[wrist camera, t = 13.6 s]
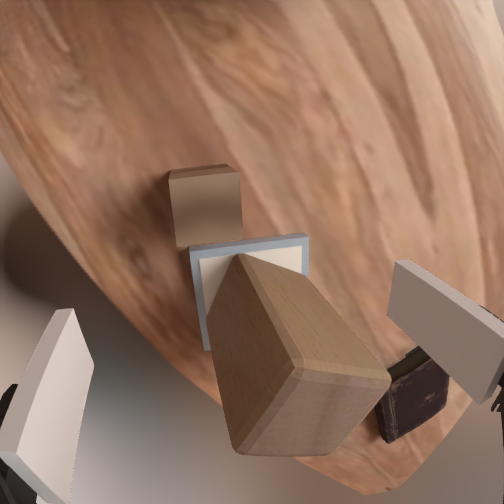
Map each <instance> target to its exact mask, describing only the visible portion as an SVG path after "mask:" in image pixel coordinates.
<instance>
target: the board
mask: <svg viewBox="0 0 504 504" xmlns="http://www.w3.org/2000/svg"><path fill="white" fill-rule="evenodd" d="M237 253H244V254H247V255H250V256H253V257H256V258H258V259H261V260H264V261H267V262H270V263H272V264H275V265H278V266H281V267H284V268H287V269H289V270H292V271H295V272H298V273H301V274H303V275H305V276H306V277H307V278H308V264H309V236H308V235H306V234H305V233H299V234H290V235H282V236H274V237H265V238H257V239H249V240H241V241H233V242H225V243H217V244H209V245H201V246H193V247H189V254H190V261H191V269H192V276H193V283H194V290H195V297H196V303H197V310H198V316H199V323H200V329H201V335H202V341H203V347H204V351H210V350H211V347H210V342H209V337H208V331H207V326H206V316H207V314H208V312H209V310H210V307H211V305H212V303H213V301H214V298H215V296H216V294H217V292H218V289H219V287H220V285H221V283H222V280H223V278H224V276H225V274H226V271H227V269H228V267H229V265H230V262H231V260H232V258H233V257H234V256H235V255H236V254H237Z"/></svg>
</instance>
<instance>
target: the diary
mask: <svg viewBox="0 0 504 504" xmlns="http://www.w3.org/2000/svg"><path fill="white" fill-rule="evenodd" d="M387 372H388V373H389V374H390V376H391V379H392V381H391V384H390V387H389V388H388V390H387V391H386V392H385V394H384V395H383V396H382V397H381V399H380V400H379V401H378V402H377V404H376V405H375V410H376V415H377V419H378V423H379V426H380V433H381V437H382V439H383V440H385V441H386V442H387V443H388V444H390V443H392V442H393V441H395V440H396V439H398V438H400V437H401V436H403V435H405V434H406V433H408V432H410V431H412V430H413V429H415V428H417V427H418V426H420V425H421V424H423V423H424V422H426V421H427V420H429V419H430V418H432V417H433V416H434V415H435V414H437V413H438V412H439V411H440V410H442V409H443V408H444V407H445V406H446V402H447V394H448V385H449V377H450V376H449V375H448V374H447V373H446V372H445V371H444V370H443V369H442V368H441V367H440V366H439V365H438V364H437V363H436V362H435V361H434V360H433V359H432V358H431V357H430V356H429V355H428V354H427V353H426V352H425V351H424V350H423V349H422V348H421V347H420V346H418V347H416V348H415V349H413V350H412V351H410V352H409V353H407V354H406V358H405V359H403V360H402V361H400V362H398V363H397V364H395V365H394V366H392V367H391V368H389V369H388V370H387Z"/></svg>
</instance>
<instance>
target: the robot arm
mask: <svg viewBox="0 0 504 504" xmlns="http://www.w3.org/2000/svg"><path fill="white" fill-rule="evenodd" d="M387 316H388V317H389V318H390V319H391V320H392V321H393V322H394V323H395V324H396V325H398V326H399V327H400V328H401V329H402V330H403V331H404V332H405V333H406V334H407V335H408V336H409V337H410V338H411V339H412V340H413V341H414V342H415V343H417V344H418V345H419V346H420V347H421V348H422V349H423V350H424V351H425V352H426V353H427V354H428V355H429V356H430V357H431V358H432V359H433V360H434V361H435V362H436V363H437V364H438V365H439V366H440V367H441V368H442V369H443V370H444V371H445V372H446V373H447V374H448V375H449V376H450V377H451V378H452V379H453V380H454V381H455V382H456V383H457V384H458V385H459V386H460V387H461V388H462V389H463V390H464V391H465V392H466V393H467V394H468V395H469V396H470V397H471V398H472V399H473V400H474V401H475V402H476V403H477V404H478V405H480V404H482V403H483V402H484V401H486V400H487V399H489V398H490V397H491V396H492V394H493V393H494V391H495V389H496V387H497V385H500V386H501V387H502V389H501V391H500V393H499V395H498V396H497V398H496V400H495V402H494V403H493V405H492V407H491V411H494V409H495V407H496V406H497V404H499V403H500V406H499V407H498V409H497V412H501V418H502V430H503V446H504V321H502V320H501V319H500V320H499V318H498V317H497V316H495V315H494V314H491V312H490V311H488V310H487V309H485V308H484V307H483V306H480V305H478V304H476V303H475V302H473V301H472V300H470V299H469V298H468V297H466V296H465V295H463V294H462V293H460V292H459V291H457V290H456V289H454V288H453V287H451V286H450V285H448V284H447V283H445V282H444V281H442V280H440V279H439V278H437V277H436V276H434V275H433V274H431V273H430V272H428V271H426V270H425V269H423V268H422V267H420V266H419V265H417V264H415V263H414V262H412V261H411V260H409V259H405V260H399V261H395V265H394V272H393V279H392V286H391V292H390V299H389V305H388V310H387ZM93 369H94V363H93V360H92V358H91V356H90V353H89V350H88V348H87V345H86V343H85V340H84V337H83V335H82V332H81V329H80V326H79V324H78V321H77V318H76V315H75V312H74V309H73V308H71V309H61V310H56V312H55V313H54V315H53V317H52V319H51V320H50V322H49V324H48V326H47V328H46V330H45V331H44V333H43V335H42V337H41V339H40V341H39V343H38V345H37V347H36V349H35V351H34V353H33V355H32V357H31V359H30V361H29V363H28V365H27V367H26V369H25V371H24V373H23V376H22V378H21V380H20V382H19V384H12V385H11V386H10V387H9V388H8V389H7V390H6V392H5V393H4V394H3V395H2V398H1V400H0V504H37V503H36V498H37V494H38V495H39V496H40V497H41V498H42V499H43V500H44V501H45V502H47V503H50V504H69V503H70V493H71V484H72V476H73V469H74V462H75V456H76V449H77V444H78V438H79V432H80V427H81V422H82V417H83V412H84V407H85V402H86V398H87V393H88V389H89V385H90V380H91V377H92V373H93ZM503 499H504V497H503ZM503 504H504V500H503Z"/></svg>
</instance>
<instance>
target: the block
mask: <svg viewBox="0 0 504 504" xmlns="http://www.w3.org/2000/svg"><path fill="white" fill-rule="evenodd" d="M206 326H207V331H208V337H209V342H210V347H211V352H212V357H213V362H214V367H215V372H216V377H217V382H218V386H219V391H220V396H221V400H222V405H223V409H224V413H225V418H226V423H227V427H228V431H229V435H230V440H231V444H232V447H233V449H234V450H235V451H236V452H237V453H239V454H242V455H255V456H286V457H296V456H325V455H328V454H331V453H332V452H334V451H336V450H337V449H338V447H339V446H340V445H341V444H342V443H343V442H344V441H345V440H346V439H347V438H348V437H349V435H350V434H351V433H352V432H353V431H354V430H355V429H356V428H357V426H358V425H359V424H360V423H361V422H362V421H363V419H364V418H365V417H366V416H367V415H368V413H369V412H370V411H371V410H372V409H373V407H374V406H375V405H376V404H377V402H378V401H379V400H380V399H381V397H382V396H383V395H384V394H385V392H386V391H387V390H388V388H389V387H390V384H391V381H392V379H391V376H390V374H389V373H388V372H387V370H386V369H385V368H384V367H383V366H382V364H381V363H380V362H379V361H378V360H377V358H376V357H375V356H374V355H373V354H372V353H371V351H370V350H369V349H368V348H367V347H366V345H365V344H364V343H363V342H362V341H361V340H360V338H359V337H358V336H357V335H356V334H355V332H354V331H353V330H352V329H351V328H350V327H349V325H348V324H347V323H346V322H345V321H344V320H343V318H342V317H341V316H340V315H339V314H338V313H337V311H336V310H335V309H334V308H333V307H332V306H331V305H330V303H329V302H328V301H327V300H326V299H325V298H324V296H323V295H322V294H321V293H320V292H319V291H318V290H317V288H316V287H315V286H314V285H313V284H312V283H311V282H310V280H309V279H308V278H307V277H306V276H305V275H303V274H301V273H298V272H295V271H292V270H289V269H287V268H284V267H281V266H278V265H275V264H272V263H270V262H267V261H264V260H261V259H258V258H256V257H253V256H250V255H247V254H244V253H237V254H236V255H235V256H234V257H233V258H232V260H231V262H230V265H229V267H228V269H227V271H226V274H225V276H224V278H223V280H222V283H221V285H220V287H219V289H218V292H217V294H216V296H215V298H214V301H213V303H212V305H211V307H210V310H209V312H208V314H207V316H206Z"/></svg>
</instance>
